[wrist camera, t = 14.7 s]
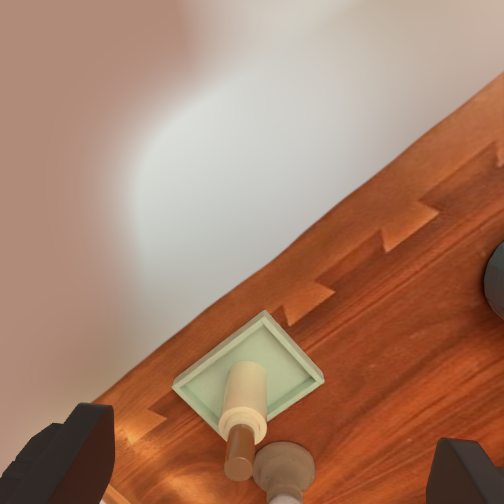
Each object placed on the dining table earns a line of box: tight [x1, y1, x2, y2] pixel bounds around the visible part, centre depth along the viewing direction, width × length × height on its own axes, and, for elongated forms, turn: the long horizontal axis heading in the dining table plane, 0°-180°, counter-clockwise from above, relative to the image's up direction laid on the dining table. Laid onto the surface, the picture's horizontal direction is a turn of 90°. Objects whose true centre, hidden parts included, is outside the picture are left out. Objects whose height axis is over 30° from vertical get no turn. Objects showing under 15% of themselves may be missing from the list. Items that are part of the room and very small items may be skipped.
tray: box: [171, 309, 325, 437], centre depth 49 cm, size 16×12×2 cm
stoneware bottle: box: [218, 361, 267, 482], centre depth 43 cm, size 5×5×14 cm
